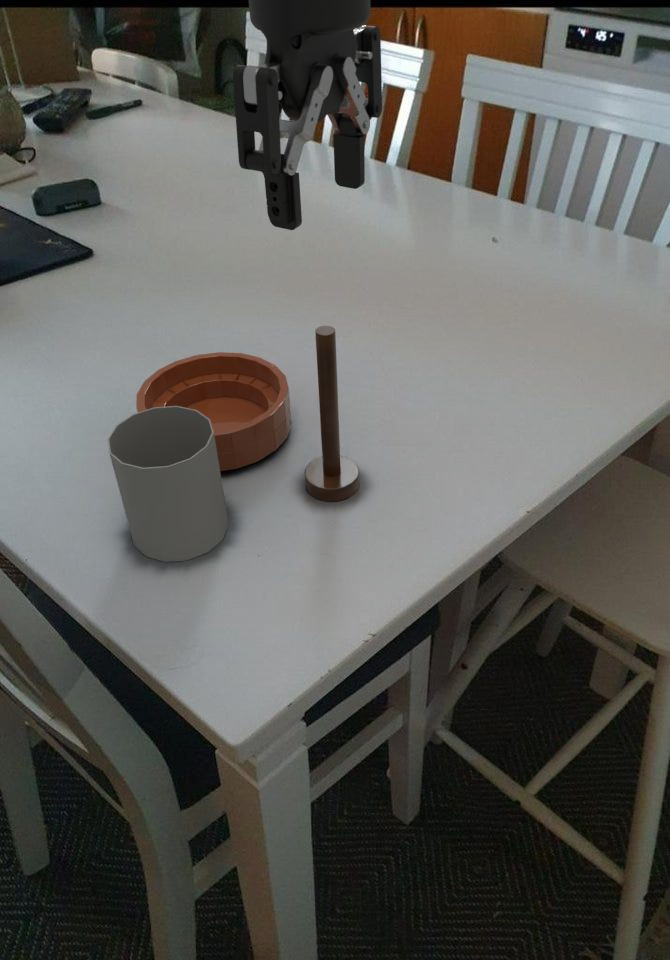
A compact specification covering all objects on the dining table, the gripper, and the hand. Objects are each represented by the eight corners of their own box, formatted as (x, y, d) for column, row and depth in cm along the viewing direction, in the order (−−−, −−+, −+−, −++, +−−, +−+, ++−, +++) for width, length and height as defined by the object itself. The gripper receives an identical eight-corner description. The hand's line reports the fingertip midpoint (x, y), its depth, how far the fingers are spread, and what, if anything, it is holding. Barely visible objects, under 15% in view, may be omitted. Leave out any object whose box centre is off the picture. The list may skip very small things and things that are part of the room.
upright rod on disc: (321, 508, 72) (311, 352, 62) (296, 478, 76) (283, 325, 65) (369, 490, 74) (368, 335, 64) (343, 461, 77) (337, 309, 67)
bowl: (175, 497, 74) (166, 454, 71) (127, 418, 84) (117, 377, 81) (316, 447, 79) (313, 405, 76) (255, 378, 89) (250, 338, 86)
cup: (113, 547, 69) (86, 454, 63) (163, 488, 75) (143, 398, 69) (199, 571, 67) (180, 477, 60) (244, 509, 72) (231, 417, 66)
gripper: (317, -80, 54) (327, 167, 64) (179, -52, 45) (216, 231, 55) (418, -78, 51) (411, 182, 61) (292, -47, 42) (309, 253, 52)
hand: (319, 205), depth 58 cm, fingers open, 8 cm apart
